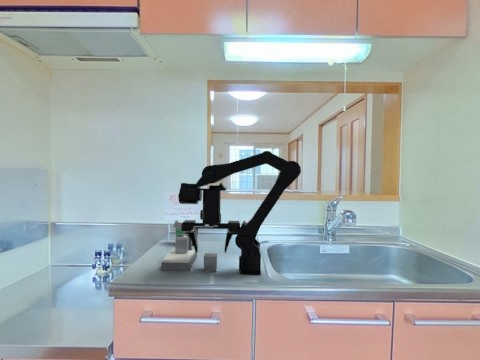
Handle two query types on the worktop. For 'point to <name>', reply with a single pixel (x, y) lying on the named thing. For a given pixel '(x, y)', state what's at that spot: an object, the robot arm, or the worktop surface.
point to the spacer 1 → (181, 245)
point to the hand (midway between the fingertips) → (211, 252)
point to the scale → (180, 259)
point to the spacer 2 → (210, 262)
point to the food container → (178, 229)
